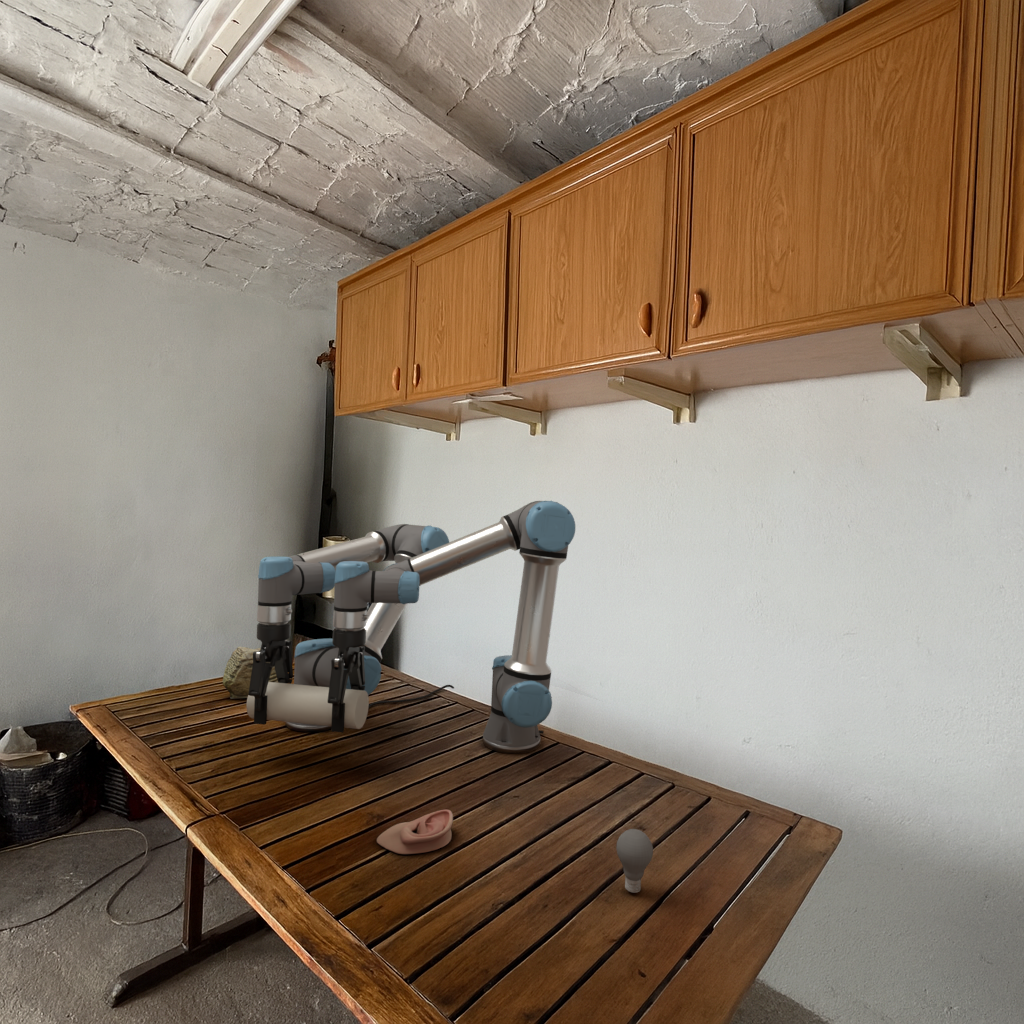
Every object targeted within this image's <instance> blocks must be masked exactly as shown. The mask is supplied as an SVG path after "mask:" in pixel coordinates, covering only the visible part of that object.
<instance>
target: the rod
mask: <svg viewBox="0 0 1024 1024" xmlns="http://www.w3.org/2000/svg"><path fill="white" fill-rule="evenodd" d="M328 693H329V687H320V686H309V685H298V684H294V683H291V684H289V683H276V682H268V686H267V690H266V693H265V695H267V721H273V722H275V721H276V722H284V723H286V722H293V723H303V724H313V725H323V726H331V725H332V703H328ZM369 702H370V700H369V695H368V694H367V692H366V691H364V690H353V689H346V691H345V695H344V700H343V703H345V717H344V729H353V730H354V729H355V730H360V729H362V728H363V727H364V725H365V723H366V721H367V717H368V714H369V708H370V707H369V704H370V703H369ZM254 705H255V697H254V696H249V695H248V698H246V713H247V715H248V717H249V718H251V719H253V720H254ZM368 707H369V708H368Z"/></svg>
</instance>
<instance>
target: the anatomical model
mask: <svg viewBox="0 0 1024 1024" xmlns="http://www.w3.org/2000/svg"><path fill="white" fill-rule="evenodd" d="M453 823H454V815H453V811H451V810H450V809H441V810H436V811H433V812H431V813H427V814H425V815H423V816H420V817H418V818H416V819H414V820H411V821H407V822H400V823H396V824H394V825H393V826H390V827H389V828H387V829H386V830H385V831H383V832H382V833H381V834H379V835H378V836H377V838H376V843H377V844H378V845H379V846H380V847H382V848H384V849H386V850H388V851H390V852H392V853H395V854H399V855H414V854H422V853H428V852H432V851H436V850H438V849H440V848H443V847H445V846H447V845H448V844H449V843H450V842H451V840H452V835H453V834H452V829H451V828H452V827H453Z"/></svg>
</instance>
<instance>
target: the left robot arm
mask: <svg viewBox="0 0 1024 1024" xmlns="http://www.w3.org/2000/svg"><path fill="white" fill-rule="evenodd" d="M449 542H450V540H449V537H448V534H447V533H446V532H445V530H444V529H442V528H440V527H438V526H437V527H436V526H432V525H419V524H418V525H417V524H409V523H402V524H394V525H391V526H386V527H383V528H379V529H376V530H372V531H368V532H367V533H366V534H365V536H363V537H358V538H355V539H352V540H351V539H350V540H348V541H344V542H340V543H336V544H332V545H328V546H325V547H320V548H317V549H313V550H309V551H305V552H301V553H298V554H294V555H289V556H281V555H279V556H275V555H274V556H265V557H262V559H260V562H259V567H258V574H257V578H258V588H257V589H258V590H257V592H258V593H257V612H256V613H257V615H256V616H257V617H256V621H257V624H256V639H257V640H258V641H260V642H261V645H260V648H261V649H260V651H258V652H257V651H254V652H253V666H252V673H251V680H250V687H249V696H254V697H255V705H254V719H253V724H255V725H267V722H268V720H267V695H265V693H266V690H267V686H268V682H269V678H270V674H271V670H272V668H273V667H275V672H276V676H277V680H278V682H279V683H287V684H298V685H309V686H320V687H329V685H330V677H331V660H332V658H337V656H338V651H339V648H338V647H337V646H334V645H333V638H317V639H308V640H304V641H300V642H299V643H298V644H297V645H296V646H295V650H294V655H293V653H292V647H293V640H290V638H291V632H292V631H291V629H292V623H291V622H290V621H291V620H292V613H293V609H292V603H293V596H298V595H311V594H322V593H325V592H326V593H327V592H330V591H332V590H334V585H335V583H334V581H335V574H336V566H337V564H339V563H340V562H343V561H362V562H367V563H371V562H372V563H374V564H379V563H382V562H394V564H397V563H400V562H403V561H405V560H408V559H410V558H412V557H415V556H417V555H420V554H422V553H425V552H427V551H430V550H432V549H434V548H437V547H439V546H442V545H444V544H447V543H449ZM407 605H408V603H407V604H400V603H371V605H370V606H369V607H368V609H367V615H368V619H366V626H365V627H364V628H365V629H366V643H365V644H364V645H363V646H364V647H365V651H364V666H365V685H362V686H365V690H364V691H366V692H367V694H368V696H369V695H371V694H372V693H373V692H374V691H375V690H376V688H377V687H378V685H379V683H380V681H381V680H382V679H381V678H382V674H381V672H382V671H383V670H382V666H381V662H382V660H383V655H382V652H381V651H382V649H383V647H384V645H385V644H386V642H387V640H388V638H389V636H390V635H391V634H392V631H393V630H394V628H395V626H396V625H397V623H398V621H399V619H400V617H402V614H403V613H404V610H405V609H406V607H407ZM293 657H294V668H293ZM266 662H267V663H266ZM293 669H294V670H293ZM346 670H347V669H346ZM445 688H451V689H452V690H454V689H455V687H454V686H453V685H452V684H445V685H443V686H441V687H439V688H437V689H435V690H433V691H431V692H429V693H427V694H425V695H422V696H418V697H413V698H405V699H394V700H393V699H392V700H380V701H374V702H372V703H369V707H368V709H369V708H371V707H373V706H377V705H380V704H396V703H397V704H398V703H407V702H413V701H418V700H423V699H426V698H429V697H430V696H431V695H433V694H435V693H438V692H440V691H442V690H444V689H445ZM346 689H351V686H350V680H349V676H348V681H347V686H346ZM285 726H286V728H287V729H289V730H291V731H294V732H295V731H296V732H301V733H316V732H325V731H329V730H331V726H323V725H313V724H303V723H293V722H285Z"/></svg>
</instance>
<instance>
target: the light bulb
mask: <svg viewBox="0 0 1024 1024" xmlns="http://www.w3.org/2000/svg"><path fill="white" fill-rule="evenodd" d="M615 849H616V854H617V857H618V859H619V861H620V863H621V865H622V867H623V873H624V874H623V875H624V876H625V878H624V888H625V890H627V891H628V892H630V893H634V894H635V893H639V892H640V891H641V889H642V887H641V886H642V879H643V877H644V875H645V871H646V868H647V867H648V866H649V864H650V863H651V861H652V859H653V855H654V847H653V843H652V841H651V838H649V836H648V835H647V834H646V833H645V832H643V831H642V830H641V829H636V828H629V829H627V830H625V831H623V832H622V833H621V834H620V835H619V837H618V839H617V841H616V847H615Z"/></svg>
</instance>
